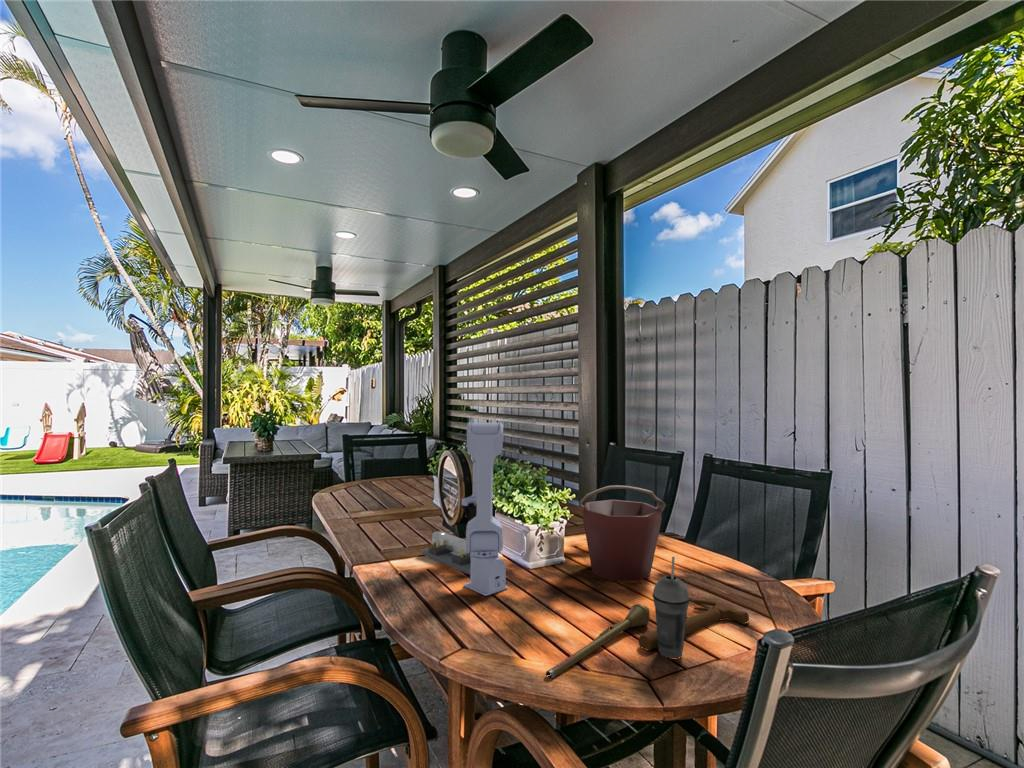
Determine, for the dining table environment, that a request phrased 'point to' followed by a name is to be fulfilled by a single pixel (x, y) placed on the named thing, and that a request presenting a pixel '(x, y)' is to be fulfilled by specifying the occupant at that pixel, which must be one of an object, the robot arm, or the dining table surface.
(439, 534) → the grey bar
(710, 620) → the hammer
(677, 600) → the beverage cup
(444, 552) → the peg rack
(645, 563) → the bucket
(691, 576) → the dining table surface
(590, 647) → the panzerfaust rocket launcher
